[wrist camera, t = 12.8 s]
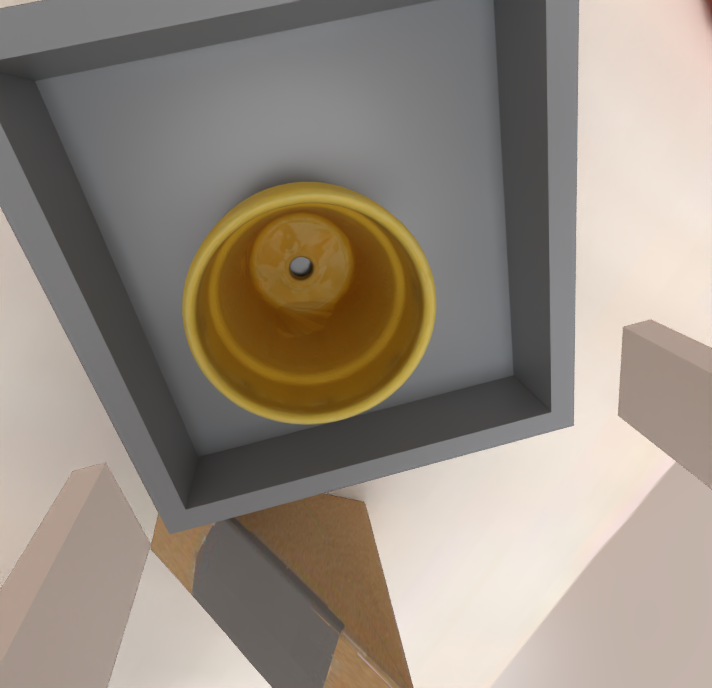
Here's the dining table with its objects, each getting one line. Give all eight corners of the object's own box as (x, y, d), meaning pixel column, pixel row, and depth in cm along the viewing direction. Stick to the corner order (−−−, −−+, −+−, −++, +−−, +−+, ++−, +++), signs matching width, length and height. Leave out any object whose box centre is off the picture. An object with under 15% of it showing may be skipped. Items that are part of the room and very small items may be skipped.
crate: (186, 470, 33) (169, 534, 28) (-2, 54, 22) (-93, 26, 17) (527, 381, 35) (573, 425, 29) (510, -47, 24) (580, -102, 18)
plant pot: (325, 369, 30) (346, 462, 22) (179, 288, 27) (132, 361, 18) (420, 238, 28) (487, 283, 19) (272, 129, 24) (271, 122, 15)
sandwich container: (171, 462, 33) (98, 688, 19) (367, 498, 37) (420, 703, 24) (147, 550, 36) (68, 800, 22) (331, 574, 40) (361, 796, 26)
